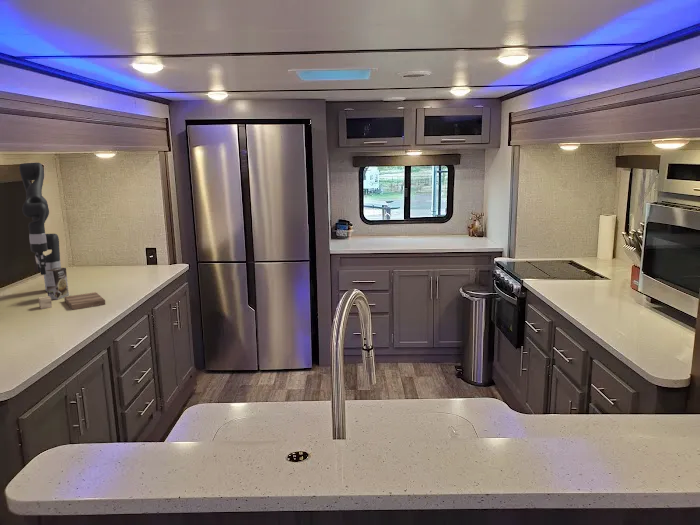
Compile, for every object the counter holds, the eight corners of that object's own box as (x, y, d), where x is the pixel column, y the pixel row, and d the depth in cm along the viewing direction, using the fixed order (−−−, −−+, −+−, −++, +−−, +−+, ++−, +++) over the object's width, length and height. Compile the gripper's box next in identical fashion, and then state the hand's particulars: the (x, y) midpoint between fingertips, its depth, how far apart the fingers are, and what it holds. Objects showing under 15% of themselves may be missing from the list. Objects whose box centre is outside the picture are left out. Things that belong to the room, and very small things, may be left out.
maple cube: (39, 306, 287) (38, 297, 286) (50, 305, 290) (49, 296, 289) (41, 309, 283) (40, 299, 282) (52, 307, 286) (51, 298, 285)
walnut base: (64, 301, 297) (64, 296, 297) (96, 296, 307) (95, 292, 306) (72, 309, 282) (71, 304, 281) (105, 304, 291) (105, 299, 291)
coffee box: (58, 299, 300) (54, 271, 297) (47, 299, 302) (44, 270, 298) (69, 295, 309) (66, 267, 306) (59, 294, 310) (56, 267, 307)
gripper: (27, 241, 283) (31, 271, 286) (32, 244, 272) (35, 276, 275) (44, 239, 288) (47, 269, 291) (49, 243, 277) (52, 274, 280)
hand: (42, 273), depth 283 cm, fingers open, 8 cm apart
